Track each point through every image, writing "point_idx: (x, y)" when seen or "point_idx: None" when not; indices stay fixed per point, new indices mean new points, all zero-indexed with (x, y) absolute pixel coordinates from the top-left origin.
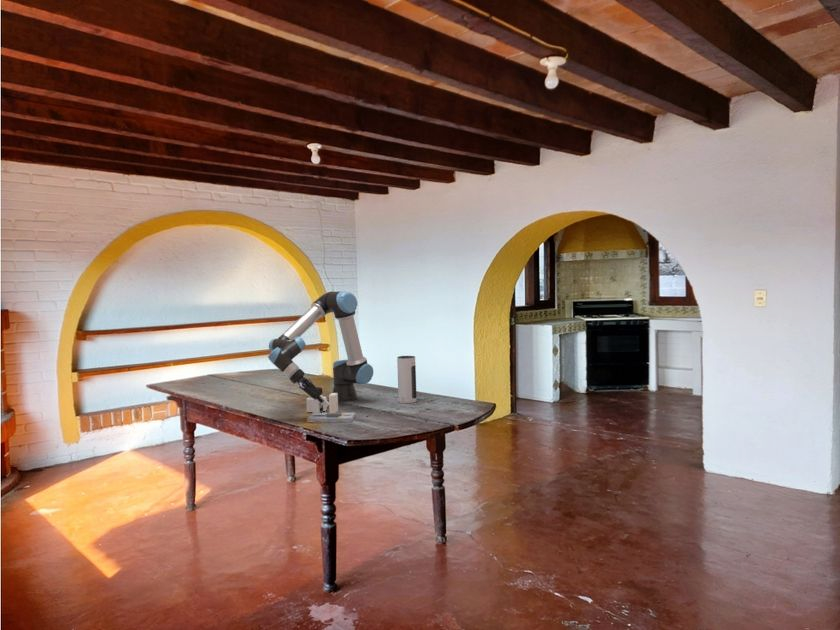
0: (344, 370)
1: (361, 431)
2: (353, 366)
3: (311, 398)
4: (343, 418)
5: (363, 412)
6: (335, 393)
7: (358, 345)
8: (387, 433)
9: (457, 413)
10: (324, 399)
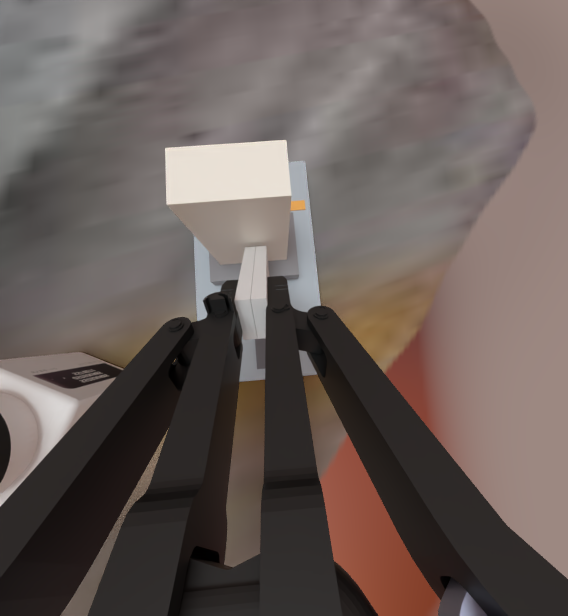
0: None
1: (435, 102)
2: None
3: (34, 468)
4: (308, 193)
5: (119, 168)
6: (192, 160)
7: None
8: (446, 15)
9: None
10: (259, 269)
